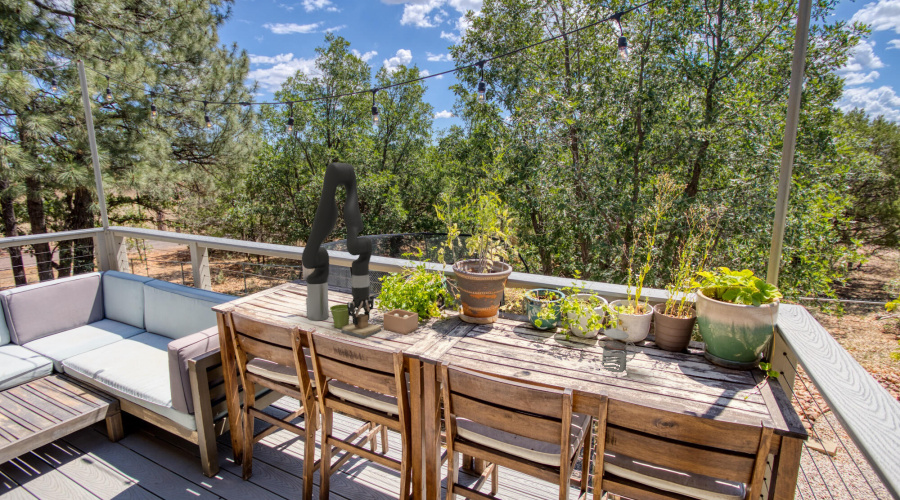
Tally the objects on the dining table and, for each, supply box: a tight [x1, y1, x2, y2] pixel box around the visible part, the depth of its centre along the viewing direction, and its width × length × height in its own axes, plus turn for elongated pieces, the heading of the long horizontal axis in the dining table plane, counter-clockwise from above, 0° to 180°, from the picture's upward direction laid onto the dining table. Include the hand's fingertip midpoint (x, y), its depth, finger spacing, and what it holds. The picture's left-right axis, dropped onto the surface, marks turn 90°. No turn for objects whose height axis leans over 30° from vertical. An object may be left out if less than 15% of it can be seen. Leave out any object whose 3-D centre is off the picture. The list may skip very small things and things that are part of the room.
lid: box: [341, 313, 382, 336], centre depth 179 cm, size 13×10×6 cm
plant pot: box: [329, 303, 350, 329], centre depth 185 cm, size 9×9×9 cm
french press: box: [601, 301, 637, 372], centre depth 144 cm, size 10×12×25 cm
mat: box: [340, 328, 382, 339], centre depth 180 cm, size 13×11×1 cm
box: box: [382, 308, 419, 336], centre depth 183 cm, size 12×9×7 cm
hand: (361, 322), depth 179 cm, fingers open, 6 cm apart
